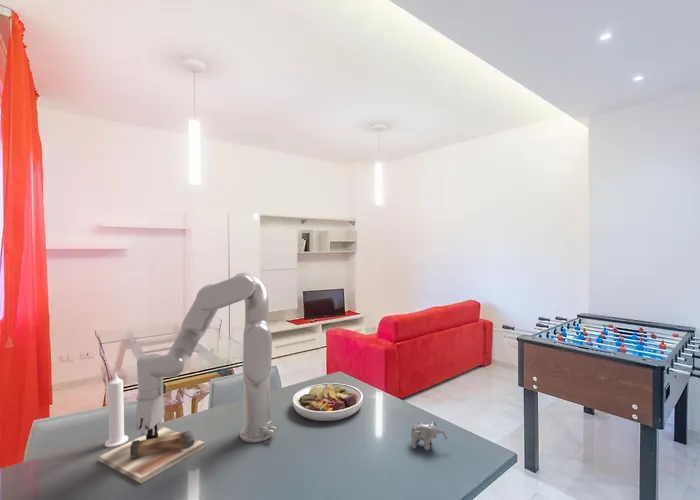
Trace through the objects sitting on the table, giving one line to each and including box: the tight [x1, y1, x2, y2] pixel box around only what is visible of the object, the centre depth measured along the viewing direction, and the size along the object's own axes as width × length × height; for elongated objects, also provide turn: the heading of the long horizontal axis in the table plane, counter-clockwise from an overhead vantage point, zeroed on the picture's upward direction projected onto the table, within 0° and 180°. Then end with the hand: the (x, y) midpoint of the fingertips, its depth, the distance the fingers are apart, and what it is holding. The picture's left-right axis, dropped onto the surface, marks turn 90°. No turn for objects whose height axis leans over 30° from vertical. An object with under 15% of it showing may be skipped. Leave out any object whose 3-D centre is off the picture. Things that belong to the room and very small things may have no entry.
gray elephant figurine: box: [410, 420, 448, 452], centre depth 122 cm, size 9×12×8 cm
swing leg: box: [130, 430, 195, 459], centre depth 119 cm, size 19×4×4 cm, turn 113°
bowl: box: [292, 382, 364, 422], centre depth 153 cm, size 30×30×8 cm
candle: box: [104, 372, 129, 448], centre depth 127 cm, size 7×7×25 cm
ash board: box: [98, 426, 206, 484], centre depth 120 cm, size 24×22×2 cm
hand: (152, 445), depth 121 cm, fingers closed
